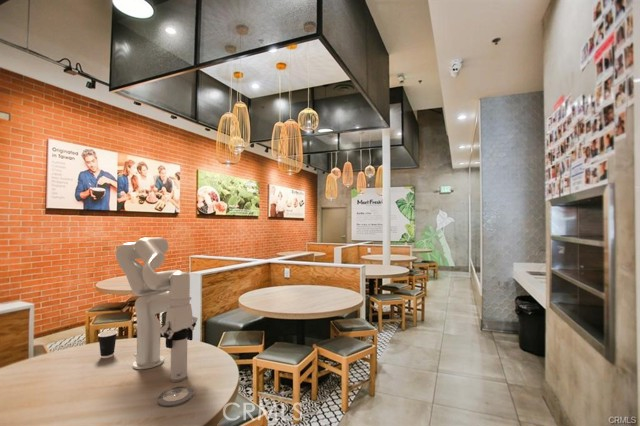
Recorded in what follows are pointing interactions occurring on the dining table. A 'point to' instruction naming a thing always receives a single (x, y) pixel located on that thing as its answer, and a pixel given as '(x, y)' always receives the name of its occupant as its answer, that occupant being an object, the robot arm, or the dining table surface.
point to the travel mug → (179, 356)
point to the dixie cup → (107, 343)
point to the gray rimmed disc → (175, 396)
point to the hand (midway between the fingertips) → (179, 343)
